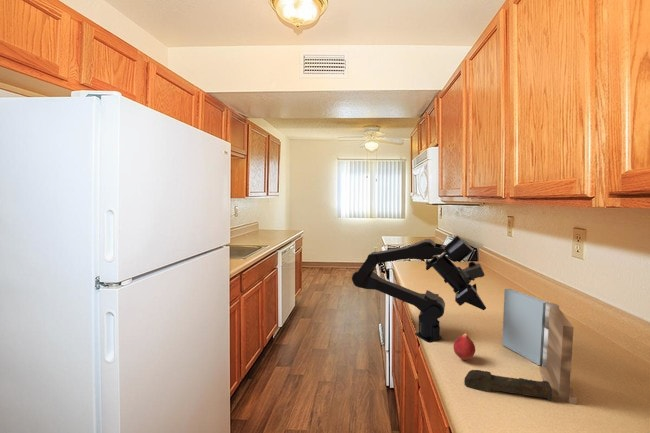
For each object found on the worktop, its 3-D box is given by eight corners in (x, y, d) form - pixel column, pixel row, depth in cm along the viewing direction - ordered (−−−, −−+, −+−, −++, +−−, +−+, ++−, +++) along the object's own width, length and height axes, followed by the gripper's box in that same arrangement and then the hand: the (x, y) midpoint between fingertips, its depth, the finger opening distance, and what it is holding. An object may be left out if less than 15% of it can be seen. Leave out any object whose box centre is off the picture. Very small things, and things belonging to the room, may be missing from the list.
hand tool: (546, 393, 81) (547, 375, 81) (552, 403, 77) (553, 384, 77) (463, 381, 87) (463, 364, 86) (465, 389, 83) (465, 372, 83)
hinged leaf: (549, 372, 90) (553, 307, 88) (500, 344, 105) (503, 289, 103) (558, 370, 90) (561, 306, 89) (508, 343, 106) (510, 288, 104)
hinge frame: (550, 399, 79) (555, 324, 77) (536, 365, 94) (540, 302, 92) (576, 404, 77) (581, 328, 75) (558, 368, 92) (561, 304, 90)
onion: (454, 364, 95) (455, 337, 94) (451, 354, 100) (452, 328, 99) (476, 366, 93) (477, 339, 92) (472, 356, 99) (473, 330, 98)
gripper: (468, 261, 96) (510, 303, 93) (468, 249, 113) (503, 285, 110) (439, 285, 100) (478, 326, 97) (442, 270, 117) (476, 305, 114)
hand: (485, 309), depth 104 cm, fingers closed
